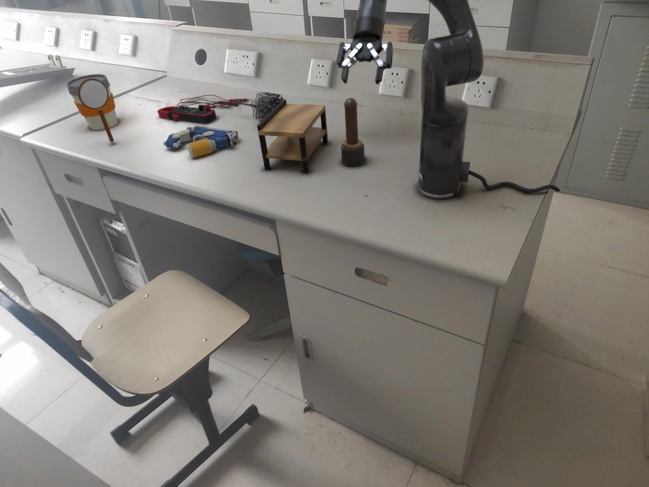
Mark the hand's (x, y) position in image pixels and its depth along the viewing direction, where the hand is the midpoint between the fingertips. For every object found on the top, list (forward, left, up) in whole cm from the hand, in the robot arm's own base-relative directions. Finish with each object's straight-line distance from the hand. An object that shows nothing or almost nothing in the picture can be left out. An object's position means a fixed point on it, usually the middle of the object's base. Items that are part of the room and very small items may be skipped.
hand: (360, 82), depth 117 cm
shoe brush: (0, +10, -17) cm, 20 cm away
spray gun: (+47, +8, -17) cm, 51 cm away
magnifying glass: (+77, +10, -17) cm, 80 cm away
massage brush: (+35, -12, -17) cm, 41 cm away
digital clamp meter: (+61, -19, -17) cm, 66 cm away
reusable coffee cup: (+91, -3, -17) cm, 93 cm away
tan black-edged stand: (+16, +9, -17) cm, 25 cm away
